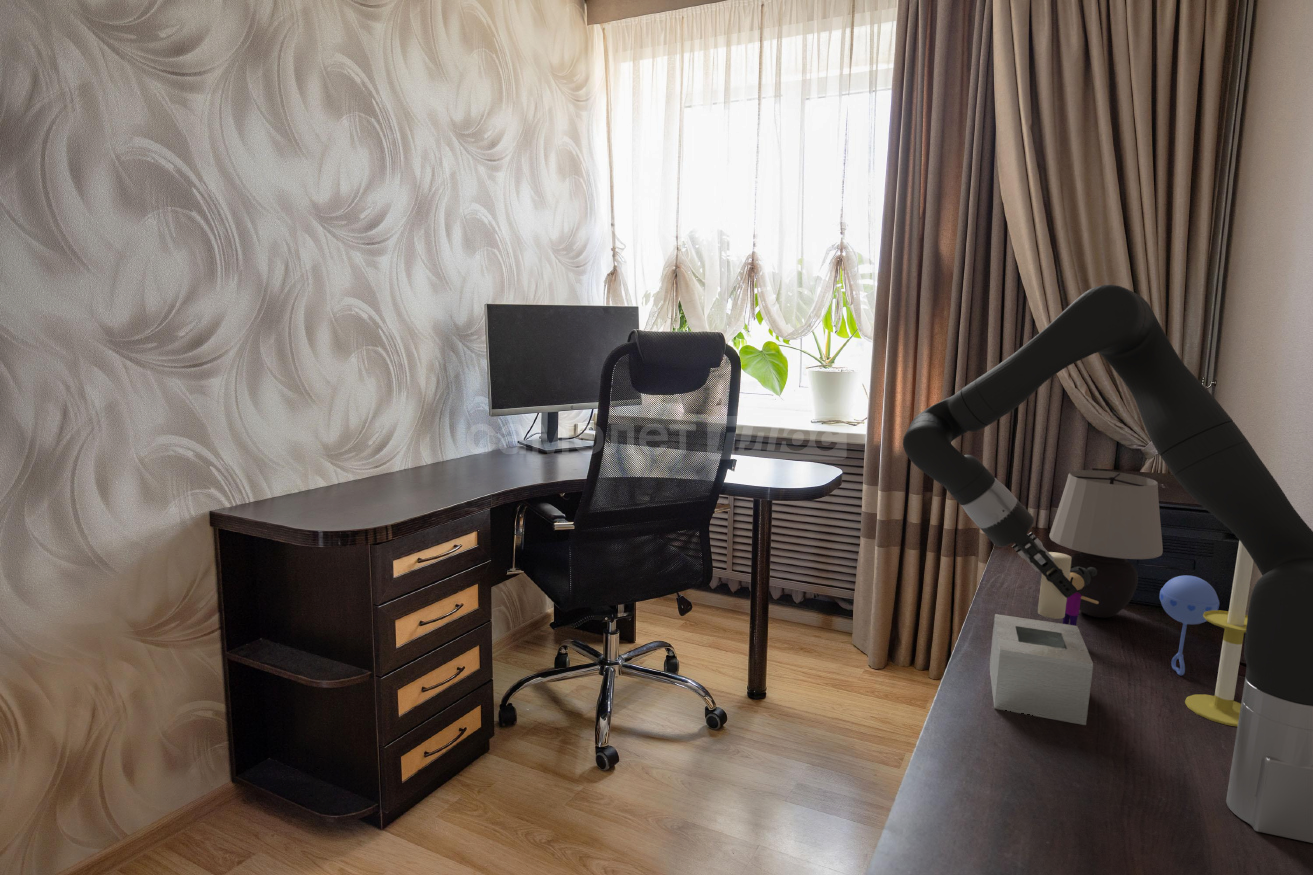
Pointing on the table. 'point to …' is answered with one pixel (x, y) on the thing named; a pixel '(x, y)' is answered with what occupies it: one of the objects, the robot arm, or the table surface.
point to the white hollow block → (1040, 669)
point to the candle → (1228, 648)
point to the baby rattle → (1187, 606)
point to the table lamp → (1108, 533)
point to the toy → (1079, 580)
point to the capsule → (1054, 590)
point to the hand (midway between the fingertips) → (1067, 588)
